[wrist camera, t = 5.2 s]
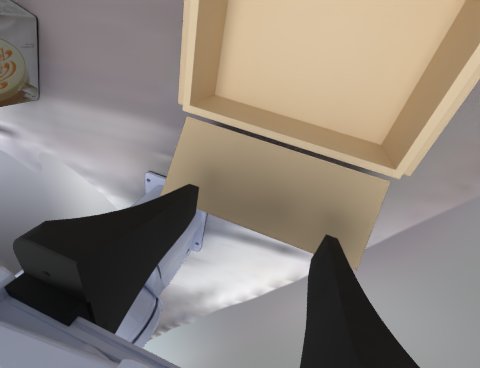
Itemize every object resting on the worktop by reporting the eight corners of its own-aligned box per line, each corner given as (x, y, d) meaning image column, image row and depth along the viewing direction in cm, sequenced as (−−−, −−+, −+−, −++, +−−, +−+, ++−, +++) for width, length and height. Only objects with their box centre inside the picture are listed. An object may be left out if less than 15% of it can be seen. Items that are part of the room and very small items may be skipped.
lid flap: (390, 181, 15) (386, 181, 15) (187, 116, 17) (189, 118, 17) (357, 270, 15) (354, 267, 16) (160, 195, 17) (163, 194, 18)
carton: (388, 151, 19) (406, 181, 15) (206, 96, 21) (177, 108, 17) (505, -39, 12) (594, -82, 8) (229, -88, 15) (192, -140, 11)
